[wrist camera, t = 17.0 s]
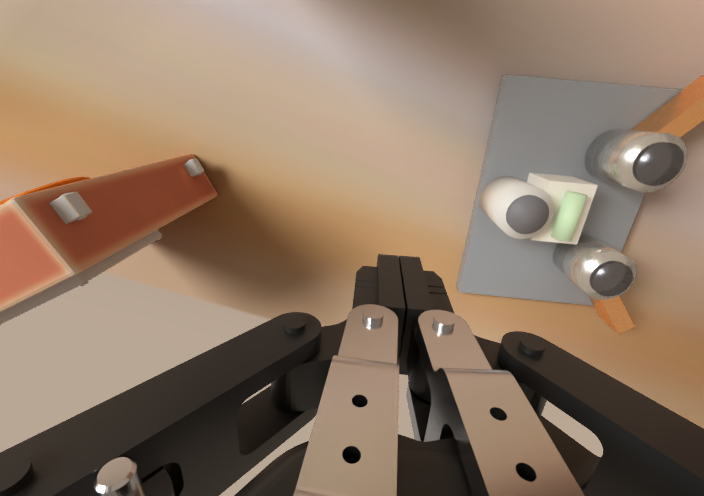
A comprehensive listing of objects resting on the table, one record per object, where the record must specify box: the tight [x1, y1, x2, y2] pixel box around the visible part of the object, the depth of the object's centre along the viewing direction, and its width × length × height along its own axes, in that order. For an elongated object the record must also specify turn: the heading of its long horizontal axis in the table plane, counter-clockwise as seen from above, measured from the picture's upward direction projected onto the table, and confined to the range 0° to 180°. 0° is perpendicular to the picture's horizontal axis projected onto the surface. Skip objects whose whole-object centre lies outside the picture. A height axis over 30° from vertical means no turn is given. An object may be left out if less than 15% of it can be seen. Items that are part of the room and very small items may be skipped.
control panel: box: [0, 154, 218, 325], centre depth 32 cm, size 21×7×15 cm
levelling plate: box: [456, 75, 683, 306], centre depth 35 cm, size 24×17×8 cm
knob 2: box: [585, 76, 704, 192], centre depth 31 cm, size 12×5×7 cm, turn 134°
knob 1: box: [553, 233, 637, 334], centre depth 37 cm, size 12×5×7 cm, turn 35°
